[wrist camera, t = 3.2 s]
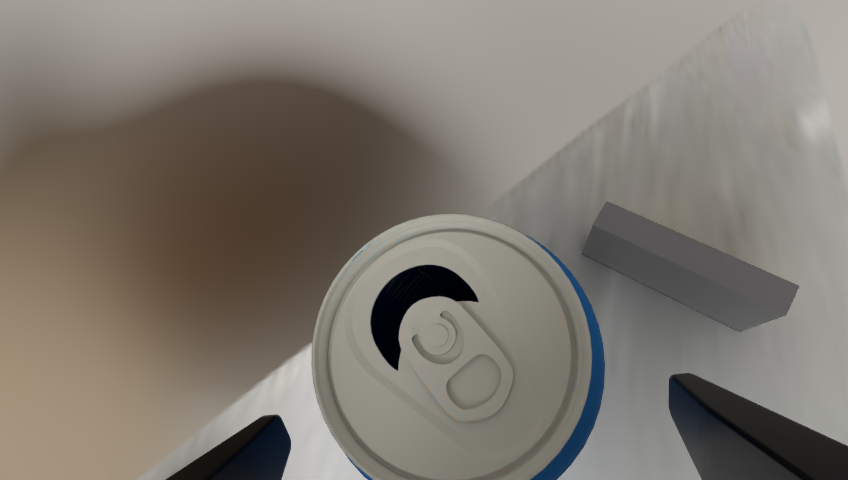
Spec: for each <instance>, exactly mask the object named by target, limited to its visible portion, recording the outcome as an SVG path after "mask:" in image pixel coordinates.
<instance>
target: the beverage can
mask: <svg viewBox="0 0 848 480" xmlns="http://www.w3.org/2000/svg"><path fill="white" fill-rule="evenodd" d="M312 374H313V384H314V388H315V393H316V397H317V401H318V404H319V407H320V410H321V412H322V415H323V418H324V420H325V422H326V424H327V426H328V428H329V430H330V432H331V434H332V436H333V437H334V439H335V440H336V442H337V443H338V444H339V446H340V447H341V449H342V450H343V452H344V453H345V454H346V456H347V457H348V459H349V460H350V461H351V463H352V464H353V465H354V466H355V467H356V468H357V469H358V470H359V471H360V473H361V474H362V475H363V476H364V477H365V478H367V479H368V480H557V479H558V478H559V477H560V476H561V475H562V474H563V473H564V472H565V471H566V470H567V468H568V467H569V466H570V465H571V464H572V463H573V461H574V460H575V458H576V457H577V456H578V454H579V453H580V451H581V450H582V448H583V447H584V445H585V443H586V441H587V439H588V437H589V435H590V433H591V431H592V429H593V427H594V424H595V421H596V418H597V415H598V412H599V409H600V405H601V400H602V394H603V389H604V374H605V361H604V350H603V343H602V338H601V334H600V329H599V325H598V322H597V320H596V317H595V314H594V312H593V309H592V306H591V304H590V302H589V300H588V299H587V297H586V295H585V293H584V291H583V289H582V287H581V286H580V285H579V283H578V282H577V280H576V279H575V278H574V276H573V275H572V273H571V272H570V271H569V270H568V269H567V268H566V266H565V265H564V264H563V263H562V262H561V261H560V260H559V259H558V258H557V257H556V256H555V255H553V254H552V253H551V252H550V251H549V250H548V249H546V248H545V247H544V246H542V245H541V244H539V243H538V242H536V241H535V240H533V239H532V238H530V237H528V236H526V235H524V234H522V233H521V232H519V231H517V230H515V229H513V228H511V227H509V226H507V225H505V224H502V223H499V222H497V221H494V220H491V219H488V218H483V217H478V216H474V215H465V214H437V215H431V216H424V217H420V218H416V219H413V220H409V221H406V222H404V223H401V224H399V225H397V226H394V227H392V228H390V229H388V230H387V231H385V232H383V233H381V234H379V235H378V236H376V237H375V238H374V239H372V240H371V241H369V242H368V243H367V244H365V245H364V246H363V247H362V248H361V249H360V250H359V251H358V252H357V253H355V254H354V255H353V256H352V258H351V259H350V260H349V261H348V262H347V263H346V264H345V265H344V267H343V268H342V269H341V271H340V272H339V274H338V275H337V276H336V278H335V279H334V281H333V283H332V284H331V286H330V288H329V290H328V292H327V294H326V296H325V298H324V300H323V303H322V306H321V308H320V311H319V314H318V317H317V321H316V325H315V329H314V336H313V343H312Z"/></svg>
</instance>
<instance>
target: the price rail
mask: <svg viewBox="0 0 848 480" xmlns="http://www.w3.org/2000/svg"><path fill="white" fill-rule="evenodd" d="M582 254H584V255H586V256H588V257H590V258H592V259H594V260H596V261H598V262H600V263H602V264H604V265H606V266H608V267H610V268H612V269H614V270H616V271H618V272H620V273H622V274H624V275H626V276H628V277H630V278H632V279H634V280H636V281H638V282H640V283H642V284H644V285H646V286H648V287H651V288H653V289H655V290H657V291H659V292H661V293H663V294H665V295H667V296H669V297H671V298H673V299H675V300H677V301H679V302H681V303H683V304H685V305H687V306H689V307H691V308H693V309H695V310H697V311H699V312H701V313H703V314H705V315H707V316H709V317H711V318H713V319H715V320H717V321H719V322H721V323H723V324H725V325H727V326H729V327H731V328H733V329H735V330H737V331H739V332H740V331H743V330H746V329H749V328H751V327H754V326H757V325H760V324H763V323H765V322H768V321H771V320H774V319H777V318H779V317H782V316H785V315H787V312H788V310H789V308H790V306H791V303H792V301H793V299H794V297H795V295H796V292H797V290H798V288H799V286H798V285H796V284H794V283H791V282H789V281H787V280H784V279H782V278H780V277H778V276H775V275H773V274H771V273H769V272H766V271H764V270H762V269H759V268H757V267H755V266H753V265H750V264H748V263H746V262H744V261H741V260H739V259H737V258H734V257H732V256H730V255H728V254H725V253H723V252H721V251H719V250H716V249H714V248H712V247H709V246H707V245H705V244H703V243H700V242H698V241H696V240H694V239H691V238H689V237H687V236H685V235H682V234H680V233H678V232H675V231H673V230H671V229H669V228H666V227H664V226H662V225H660V224H657V223H655V222H653V221H650V220H648V219H646V218H644V217H641V216H639V215H637V214H635V213H632V212H630V211H628V210H625V209H623V208H621V207H619V206H616V205H614V204H612V203H610V202H606V203H605V205H604V207H603V209H602V210H601V212H600V214H599V215H598V217H597V219H596V221H595V222H594V224H593V226H592V229H591V231H590V234H589V236H588V239H587V242H586V244H585V247H584V249H583V252H582Z"/></svg>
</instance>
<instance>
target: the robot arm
mask: <svg viewBox="0 0 848 480" xmlns="http://www.w3.org/2000/svg"><path fill="white" fill-rule="evenodd" d="M669 409H670V413H671V416H672V418H673V420H674V423H675V425H676V427H677V429H678V431H679V433H680V435H681V437H682V439H683V441H684V443H685V446H686V448H687V450H688V452H689V454H690V456H691V458H692V460H693V462H694V464H695V467H696V469H697V471H698V473H699V475H700V477H701V478H702V480H848V446H846V445H844V444H842V443H840V442H838V441H836V440H833V439H831V438H829V437H827V436H825V435H823V434H820V433H818V432H816V431H814V430H812V429H810V428H808V427H805V426H803V425H801V424H799V423H797V422H795V421H792V420H790V419H788V418H786V417H784V416H782V415H780V414H777V413H775V412H773V411H771V410H769V409H767V408H764V407H762V406H760V405H758V404H756V403H754V402H752V401H749V400H747V399H745V398H743V397H741V396H739V395H736V394H734V393H732V392H730V391H728V390H726V389H723V388H721V387H719V386H717V385H715V384H713V383H711V382H708V381H706V380H704V379H702V378H700V377H698V376H695V375H693V374H690V373H684V374H674V375H671V376H670V378H669ZM290 449H291V439H290V436H289V434H288V432H287V430H286V427H285V425H284V423H283V421H282V419H281V417H280V416H279V415H266V416H262V417H260V418H259V419H257V420H256V421H254V422H253V423H251V424H250V425H248V426H247V427H245V428H244V429H242V430H241V431H239V432H238V433H236V434H235V435H233V436H231V437H230V438H228V439H227V440H225V441H224V442H222V443H221V444H219V445H218V446H216V447H215V448H213V449H212V450H210V451H209V452H207V453H206V454H204V455H202V456H201V457H199V458H198V459H196V460H195V461H193V462H192V463H190V464H189V465H187V466H186V467H184V468H183V469H181V470H180V471H178V472H177V473H175V474H174V475H172V476H170V477H169V478H167V479H166V480H281V479H282V476H283V473H284V469H285V466H286V463H287V460H288V456H289V453H290Z"/></svg>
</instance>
